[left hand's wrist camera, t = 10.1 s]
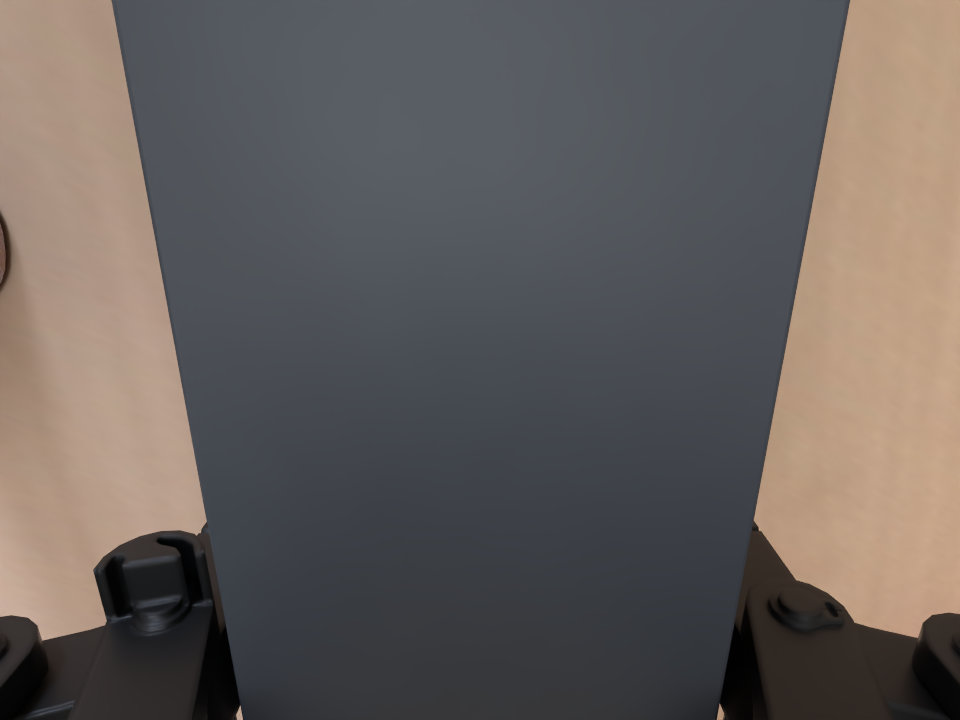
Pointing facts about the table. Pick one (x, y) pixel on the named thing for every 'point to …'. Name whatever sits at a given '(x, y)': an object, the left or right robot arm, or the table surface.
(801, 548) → the table surface
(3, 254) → the figurine
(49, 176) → the table surface
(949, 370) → the table surface
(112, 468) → the table surface
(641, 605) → the bar
